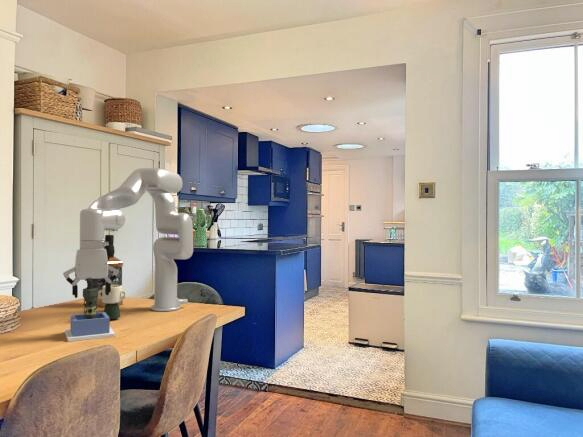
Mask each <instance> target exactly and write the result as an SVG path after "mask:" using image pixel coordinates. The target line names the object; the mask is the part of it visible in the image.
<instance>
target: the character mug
mask: <svg viewBox="0 0 583 437" xmlns="http://www.w3.org/2000/svg"><path fill="white" fill-rule="evenodd" d="M101 293H102V296H101ZM122 296H123V297H122ZM98 298H99V299H102V302H103V303H106V305H105V307H104V309H103V312H105V313H106V314H107V315H108V316H109V318H110V320H117V319H119V318H121V310H120V305H119V304H118V303H119V302H121V300H122V299H123V300H126V299H127V290H123V285H122V286H121V285H111V292H109V295H106V294H105V286H103V287H102V290H99V291H98Z"/></svg>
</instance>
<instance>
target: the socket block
mask: <svg viewBox="0 0 583 437" xmlns="http://www.w3.org/2000/svg"><path fill="white" fill-rule="evenodd" d="M94 318H95V316H94ZM110 321H111V319H110V318H109V316H108V315H107V314H106V313H105V312H104V311H103V312H101V311H100V312H96V319H86V317H85V319H84V313H77V314H70V326H69V327H70V328H64V334H65V337H66V340H67V342H78V341H79V342H80V341H87V340H97V339H103V338H104V339H105V338H113V337H116V333H115V331H114V330H113V329H112V327H111V326H110V325H111V323H110Z"/></svg>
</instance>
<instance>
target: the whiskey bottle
mask: <svg viewBox="0 0 583 437" xmlns="http://www.w3.org/2000/svg"><path fill="white" fill-rule="evenodd" d="M114 240H115V237H114V234H104V241H106V242H109V245H108V246H105V247H104V249H106V251H107V258H108V265H109V266H111V267H113V268H116V269H118V270H119V273H118V275H117V276H116V278H115V279H114V280H113V281H112V283H111V285H121V286H122V287H123V267H124V261H122V260H121V259H119V258H117V257H115V246H114V242H115V241H114ZM113 273H114V272H113V271H111V270H109V269H108V278H110V277H111V276H112V275H113ZM96 281H97V282H98V283H99V284H98V283H97V284H98V288H99V285H100V288H99V289H98V291H99V290H102V287H103V286H105V283H106V280H105V279H104V278H102V279H96ZM101 296H102V293H101ZM122 297H124V295H122ZM118 304H119V306H122V305H124V299H122V300H121V302H119V303H118ZM105 305H106V303H103V302H102V299H99V298H98V297H97V308H104V307H105Z"/></svg>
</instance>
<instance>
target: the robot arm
mask: <svg viewBox="0 0 583 437" xmlns="http://www.w3.org/2000/svg"><path fill="white" fill-rule="evenodd" d="M182 188H183V179H182V177H181V175H180V174H178V173H177V172H174V171H171V170H168V169H164V168H162V167H161V168H160V167H142V168H137V169H135V170H133V171H132V172H131V173H130V174H129V176H128V177H127V178H126V179H125V180H124V181H123V182H122V183H121V185H119V187H118V188H116V189H113V190H112V191H109V192H107V193H105V194H103V195H101V196H100V197H97V199H94V201H93V202H92V203H91V204H90V205H89V206H88V207H87V208H84V209H81V210H80V213H79V249H76V253H75V261H74V262H75V263H74V266H73V267H71V268H70V269H68V270H66V271H63V273H62V274H63V277H64V278H65V280H66V281H67V282H68V283H69V284H70V285H71V287H72V289H71V291H72V292H71V294H72V296H74V298H75V299H77V298H78V292H79V291H78V290H79V289H78V288H79V287H78V283H79V282H80V281H81V280H82V281H85V280H86V279H87V278H88V279H89V278H92V279H102V278H104V279H105V280H106V283H105V294H106V295H109V292H111V283H112V281H113V280H114V279H115V278H116V276H117V275H118V273H119V270H118V269H116V268H113V267H111V266H109V265H108V258H107V251H106V249H104V247H105V246H108V245H109V242H106V241H105V230H106V231H116V230H120V229H121V228H123V226H124V225H125V222H126V216H125V214H124V212H123V211H121V210H120V209H125V208H128V207H131V206H134V205H136V204H137V203H138V202H139V200H140V199H141V198H142V197H143V195H144V194H145V193H146V192H147V193H148V194H149V195H150V196H151V198H152V199H153V202H154V210H155V211H154V212H155V227H156V231H157V232H158V233H159V234H161V235H162V234H164V235H177V236H178V237H177V236H175V237H174V236H161V237H158V238H156V239H155V241H154V243H153V244H152V245H153V246H152V251H153V256H154V268H155V270H154V300H153V302H154V303H153V305H151V306H150V310H152V311H154V312H155V311H156V312H172V311H177V310H180V309H181V305H182V304H188V298H179V297H178V266H177V263H176V262H175V260H188V259H190V258H191V257H192V256H193V253H194V225H193V224H194V223H193V219H192V217H191V216H190V214H188V213H185V212H177V211H176V201H175V199H174V198H175V197H173V195H172V194H178V193H179V192H180V191H181V190H182ZM108 269H109V270H111V271H113V272H114V273H113V275H112V276H111V277H110V278H108ZM73 273H74V279H73V278H71V277H70V274H73Z"/></svg>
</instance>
